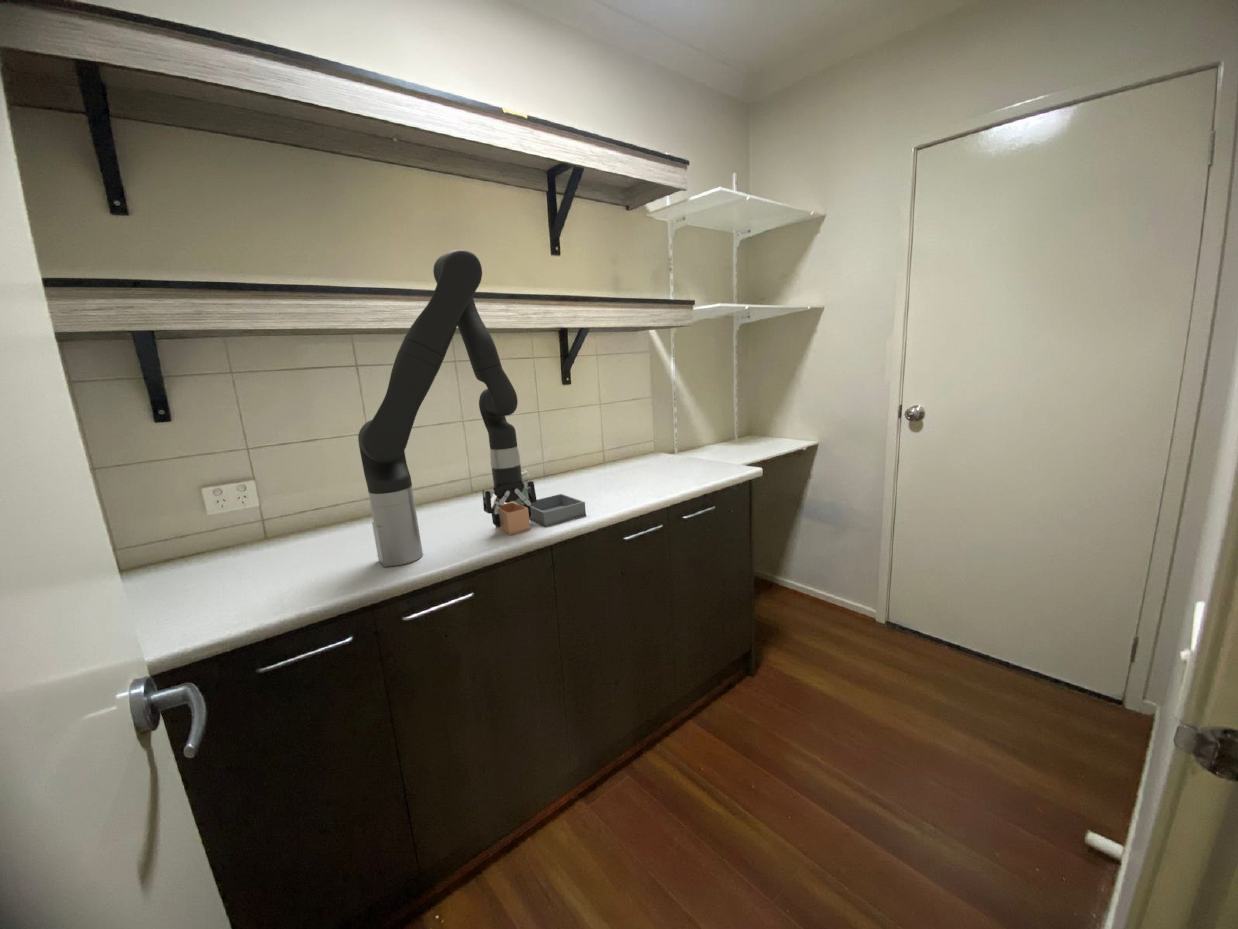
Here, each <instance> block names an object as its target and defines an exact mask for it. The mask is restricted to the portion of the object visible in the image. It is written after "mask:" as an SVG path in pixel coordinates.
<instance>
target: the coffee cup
mask: <svg viewBox="0 0 1238 929" xmlns="http://www.w3.org/2000/svg"><path fill="white" fill-rule="evenodd" d="M521 473H522V482H523V483H524V482H526V481H527V480H529V479H530V474H529V472H528V471H527V470H526V469H521ZM522 494H523V495H524V496H525V497H526V498H527V499H528V492H527V489H526V488H525V487H524V489H523V491H522ZM511 502H515V503H517V504H520V505H522V502H521V501H520V500H519V499H517V500H516V501H511ZM508 503H510V502H508Z"/></svg>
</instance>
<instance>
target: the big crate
mask: <svg viewBox="0 0 1238 929" xmlns="http://www.w3.org/2000/svg"><path fill="white" fill-rule="evenodd" d="M523 505H524V504H523V503H522V506H523ZM530 507H531V517H530V519H529V521H532V522H534V523H536V524H539V525H540V526H542V527H545V528H546V527H549V526H553V525H554V526H555V525H557V524H560V523H564V522H568V521H571V520H575V519H578V518H582V517H585V516H586V515H587V514H586V513H587V512H586V502H585V501H583V500H581V499H577V498H574V497H572V496H569V495H566V494H563V493H559V494H554V495H551V496H547V497H542V498H538V499H537V501H536V502H533V503H532V504H531V505H530Z"/></svg>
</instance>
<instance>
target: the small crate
mask: <svg viewBox="0 0 1238 929" xmlns="http://www.w3.org/2000/svg"><path fill="white" fill-rule="evenodd" d="M498 513H499V515H500V523H501V527H496V526H495V528H496V529H497V530H500V531H501V532H503V533H505V534H506V535H507V536H512V535H515V534H520V533H524V532H528V531H530V530H531V523H530V519H529V513H528V508H526V507H524V506H522V505H520V504H517V503H515V502H510V503H506V502H505V503H504V505H503V506H502V507H501V508H500V510H499V512H498Z"/></svg>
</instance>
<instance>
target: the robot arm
mask: <svg viewBox="0 0 1238 929" xmlns="http://www.w3.org/2000/svg"><path fill="white" fill-rule="evenodd" d="M432 273H433V277H434V280H435V283H436V286H435V289H434V291H433V294H432V296H431V298H430V300H429V301H428V303H427V304H426V306H425V308H424V309H423V310H422V311H421V313H419V315H418V316H417V317H416V319H415V320H414V322H413V323H412V325H411V326H410V327H409V329H408V331H407V332H406V334H405V336H404V338H403V340H402V342H401V344H400V347H399V350H398V351H397V353H396V356H395V359H394V362H393V365H392V369H391V373H390V376H389V380H388V381H389V382H388V385H387V390H386V393H385V395H384V398H383V400H382V401H381V402H382V403H381V404H380V406H379V407H378V409H377V411H376V413H375V415H374V416H373V418H372V419H371V420H369V421H368V420H367V422H365V423H364V424H363V425H362V427H360V430H359V431H358V436H357V438H358V440H357V441H358V448H359V453H360V458H361V463H362V464H361V465H362V470H363V473H364V479H365V483H366V487H367V491H368V492H367V493H368V496H369V502H370V509H371V514H372V520H373V521H372V522H371V523H372V530H373V536H374V542H375V547H376V553H377V559H378V561H379V563H380V564H381V565H382V567H383V568H387V567H394V566H395V567H397V566H402V565H406V564H410V563H413V562H415V561H417V560H419V559H420V558H421V557H423V553H424V551H423V547H422V540H421V534H420V529H419V528H420V527H419V521H418V516H417V515H418V514H417V509H416V503H415V502H416V501H415V496H414V490H413V483H412V476H411V474H410V473H411V472H410V471H409V467H408V464H407V458H406V453H405V452H406V451H405V450H406V448H407V445H408V442H409V440H410V436H411V432H412V429H413V426H414V423H415V420H416V417H417V414H418V413H419V409H420V408H421V405H422V403H423V402H424V400H425V398H426V397H427V394H428V393H429V391H430V389H431V387H432V385H433V383H434V381H435V378H436V376H437V374H438V373H439V370H440V369H441V367H442V363H443V362H444V360H445V357H446V355H447V352H448V350H449V347H450V345H451V342H452V340H453V338H454V335H455V332H456V331H457V328H458V330H459V333H460V336H461V338H462V342H463V343H464V346H465V350H466V353H467V356H468V359H469V361H470V366H471V369H472V371H473V374H474V376H475V378H476V380H477V381H479V382H482V383H483V384H484V385H485V386H486V389H484V390H483V391H482V392H481V393H480V395H479V399H478V408H479V412H480V416H481V418H482V421H483V423H484V426H485V428H486V430H487V434H488V441H489V442H488V443H489V452H490V454H489V456H490V457H489V458H490V467H491V474H492V475H491V476H492V481H493V489H483V490H482V492H481V493H482V504H483V512H485V513H487V514H491V520H492V524H493V525H494V526H495V528H496V527H501V523H500V515H499V513H498V512H499V510H500V508H501V507H502V506H503V505H504V504H506V503H508V502H511V501H516V500H517V499H519V500H520V501H521V502H522V503H523V504H524V505H523V506H524V507H526V508H528V513H529V520H530V517H531V507H530V505H531V504H532V503H533V502H536V501H537V500H538V499H537V494H536V488H535V483H534V481H532V480H527V481H526V482H524V483H523V482H522V473H521V470H522V466H521V458H520V452H519V448H518V438H517V432H516V428H515V426H514V425H512V424H510V423H509V422H508V421H507V417H508V416H510V415H513V414H514V413H515V412H516V410H517V408H518V403H519V402H518V395H517V393H516V389H515V388H514V386H513V384H512V382H511V381H510V378H509V377H508V375H507V374H506V372H505V371H504V369H503V366H502V362H501V359H500V356H499V353H498V350H497V349H498V348H497V346H496V345H495V342H494V340H493V338H492V335H491V334H490V332H489V330H488V329H487V327H486V325H485V323H484V322H483V320H482V318H481V316H480V314H479V312H478V309H477V307H476V303H475V299H474V295H475V293H476V291H477V289H478V288H479V286H480V284H481V282H482V278H483V269H482V264H481V261H480V260H479V258H478V257H477V256H476V254H475V253H473V252H472V251H469V250H468V249H460V248H459V249H454V250H451V251H449V252H446V253H445V254H442V255H441V256H439V257H438V258H437V259H436V261H435V263H434V265H433V271H432ZM506 416H507V417H506ZM524 487H525V488H526V489H527V492H528V499H527V498H526V497H525V496H524V495H523V494H522V491H523V489H524ZM494 495H495V496H496V497H495V499H494V501H493V504H492V498H493V496H494Z"/></svg>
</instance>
